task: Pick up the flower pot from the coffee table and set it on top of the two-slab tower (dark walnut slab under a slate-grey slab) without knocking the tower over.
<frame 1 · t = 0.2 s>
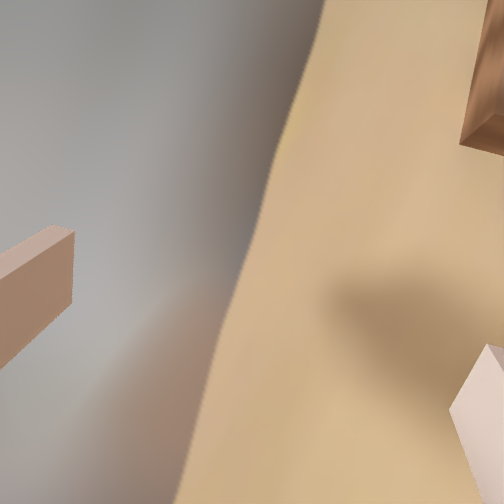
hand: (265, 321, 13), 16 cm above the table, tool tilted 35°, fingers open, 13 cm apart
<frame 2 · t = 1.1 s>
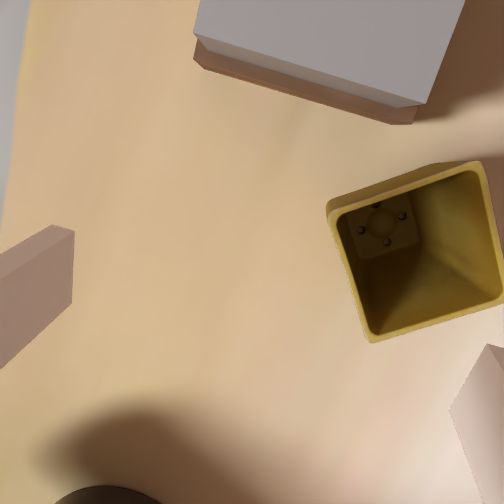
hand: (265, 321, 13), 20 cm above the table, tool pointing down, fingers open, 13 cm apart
flower pot: (380, 223, 33), on the table
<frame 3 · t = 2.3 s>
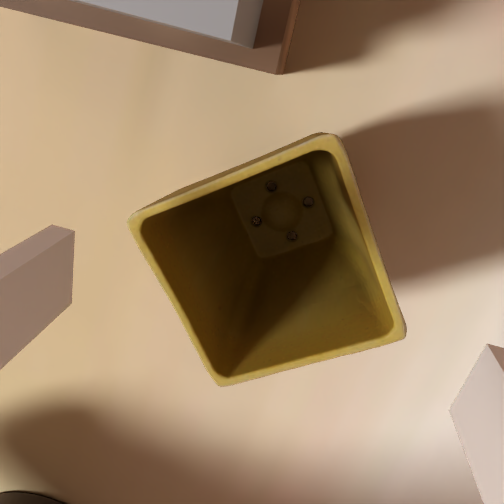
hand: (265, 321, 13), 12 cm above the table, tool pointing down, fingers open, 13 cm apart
flower pot: (284, 211, 25), on the table
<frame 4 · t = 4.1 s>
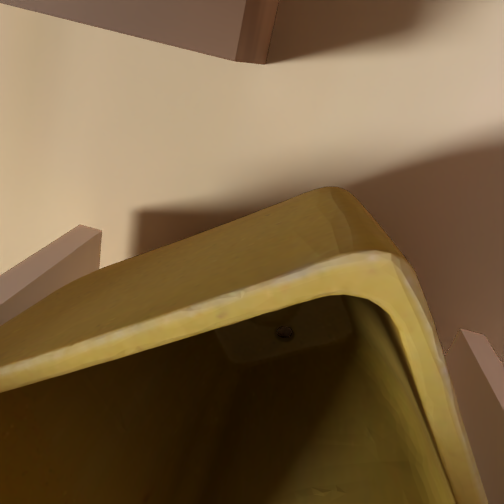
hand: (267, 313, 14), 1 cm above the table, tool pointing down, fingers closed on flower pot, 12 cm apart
flower pot: (271, 291, 15), on the table, touching gripper
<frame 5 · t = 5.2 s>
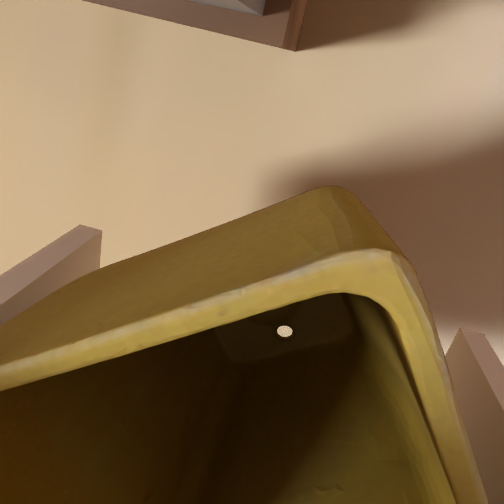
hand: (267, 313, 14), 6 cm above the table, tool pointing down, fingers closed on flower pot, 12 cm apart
flower pot: (272, 291, 15), point 4 cm above the table, touching gripper
when the fingers open (13 cm above the table, at t = 9.8 s): flower pot drops 2 cm, resting on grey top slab.
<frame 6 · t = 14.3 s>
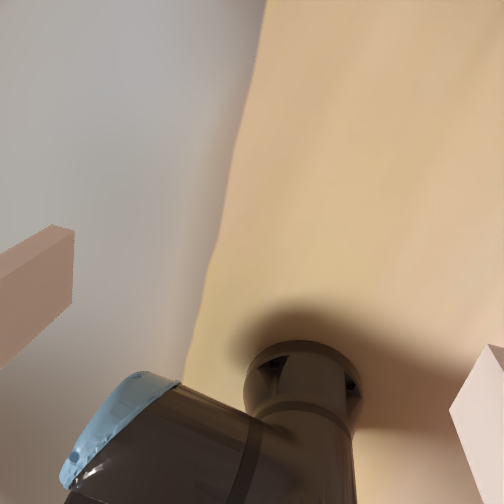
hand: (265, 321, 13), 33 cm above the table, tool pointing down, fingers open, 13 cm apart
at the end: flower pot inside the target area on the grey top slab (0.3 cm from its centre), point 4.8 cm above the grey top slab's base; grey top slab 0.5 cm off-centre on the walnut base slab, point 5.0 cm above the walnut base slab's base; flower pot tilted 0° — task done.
